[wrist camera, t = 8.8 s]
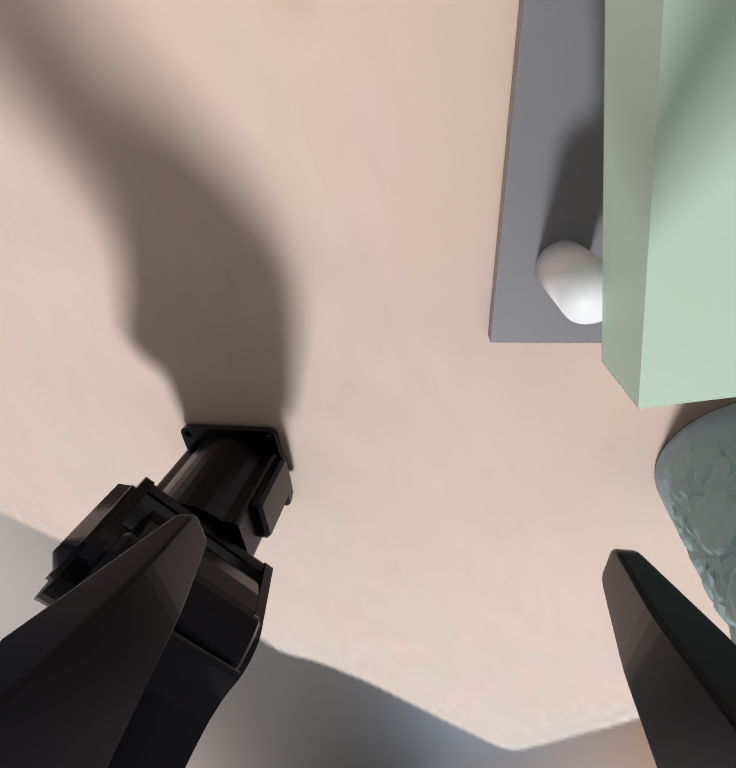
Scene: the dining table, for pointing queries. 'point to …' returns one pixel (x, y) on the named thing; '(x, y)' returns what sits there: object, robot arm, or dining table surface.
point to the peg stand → (553, 179)
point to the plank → (670, 200)
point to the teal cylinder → (705, 501)
